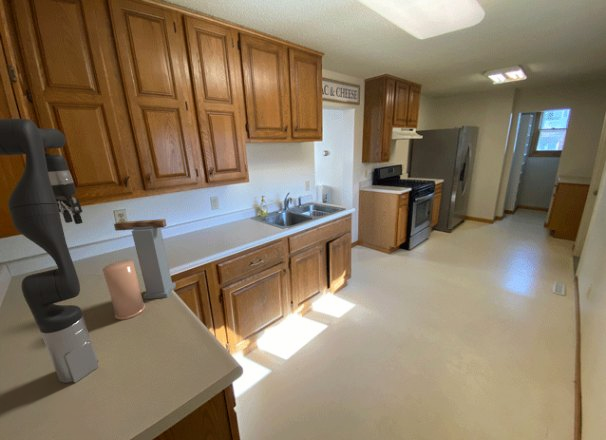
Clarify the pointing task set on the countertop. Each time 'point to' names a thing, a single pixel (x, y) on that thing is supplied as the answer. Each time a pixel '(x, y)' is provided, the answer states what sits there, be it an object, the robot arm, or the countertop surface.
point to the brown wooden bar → (140, 224)
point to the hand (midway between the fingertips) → (74, 222)
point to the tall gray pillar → (153, 262)
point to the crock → (124, 289)
